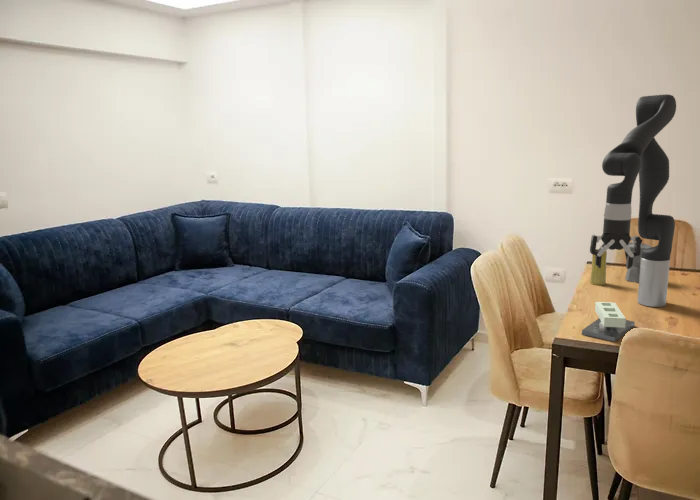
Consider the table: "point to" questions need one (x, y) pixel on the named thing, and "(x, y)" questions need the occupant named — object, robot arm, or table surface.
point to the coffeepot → (635, 263)
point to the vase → (598, 271)
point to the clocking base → (607, 330)
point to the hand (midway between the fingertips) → (613, 267)
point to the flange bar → (610, 314)
